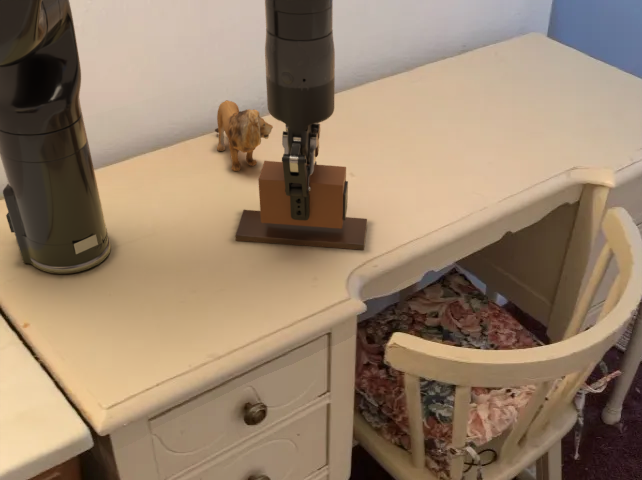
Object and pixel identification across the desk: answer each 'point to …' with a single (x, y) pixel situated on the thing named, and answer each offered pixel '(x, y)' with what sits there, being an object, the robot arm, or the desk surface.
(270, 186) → the brown cardboard box
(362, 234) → the walnut board
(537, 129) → the desk surface
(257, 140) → the lion figurine
